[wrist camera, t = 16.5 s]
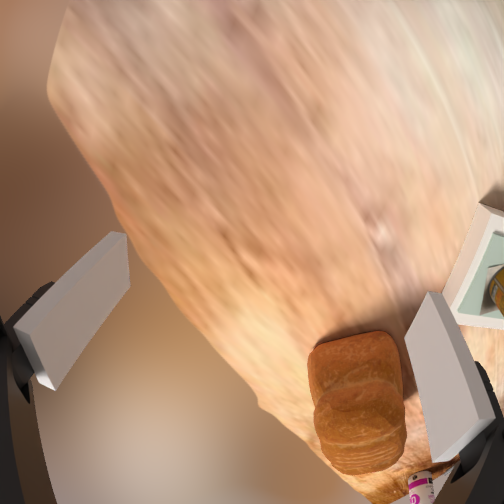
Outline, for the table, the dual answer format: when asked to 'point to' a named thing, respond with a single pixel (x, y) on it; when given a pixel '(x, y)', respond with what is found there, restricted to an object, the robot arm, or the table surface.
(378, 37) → the table surface
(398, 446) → the bread
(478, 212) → the riser
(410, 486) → the supplement can
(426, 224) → the table surface
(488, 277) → the condiment
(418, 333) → the robot arm
